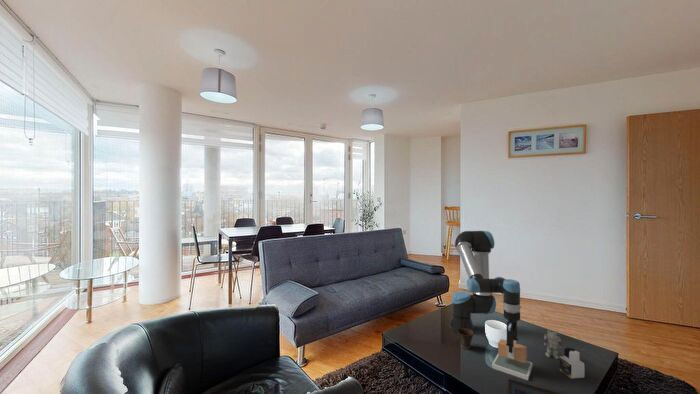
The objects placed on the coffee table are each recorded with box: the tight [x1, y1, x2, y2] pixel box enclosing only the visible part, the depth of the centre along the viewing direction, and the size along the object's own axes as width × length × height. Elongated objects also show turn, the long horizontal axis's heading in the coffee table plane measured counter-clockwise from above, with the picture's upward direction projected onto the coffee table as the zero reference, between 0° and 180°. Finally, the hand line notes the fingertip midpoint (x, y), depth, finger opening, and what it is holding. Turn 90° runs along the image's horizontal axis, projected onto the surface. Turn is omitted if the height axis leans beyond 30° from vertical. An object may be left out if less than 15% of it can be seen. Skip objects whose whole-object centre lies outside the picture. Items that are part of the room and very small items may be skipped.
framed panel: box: [491, 353, 534, 381], centre depth 150 cm, size 16×14×2 cm
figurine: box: [543, 329, 562, 360], centre depth 158 cm, size 8×8×15 cm
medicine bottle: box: [559, 347, 585, 379], centre depth 144 cm, size 7×7×12 cm
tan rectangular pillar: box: [497, 338, 528, 363], centre depth 150 cm, size 12×6×6 cm, turn 49°
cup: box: [457, 328, 475, 350], centre depth 170 cm, size 9×9×10 cm
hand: (512, 355), depth 150 cm, fingers closed on tan rectangular pillar, 6 cm apart
